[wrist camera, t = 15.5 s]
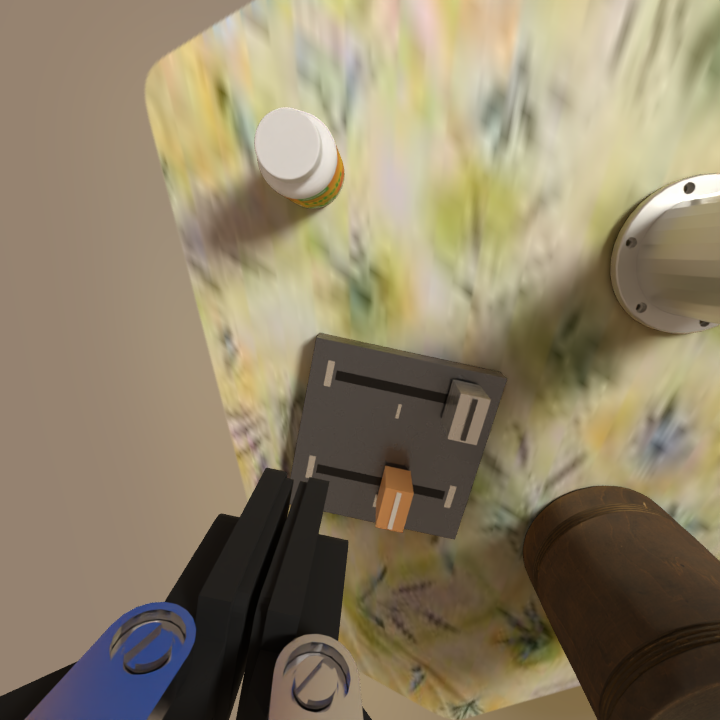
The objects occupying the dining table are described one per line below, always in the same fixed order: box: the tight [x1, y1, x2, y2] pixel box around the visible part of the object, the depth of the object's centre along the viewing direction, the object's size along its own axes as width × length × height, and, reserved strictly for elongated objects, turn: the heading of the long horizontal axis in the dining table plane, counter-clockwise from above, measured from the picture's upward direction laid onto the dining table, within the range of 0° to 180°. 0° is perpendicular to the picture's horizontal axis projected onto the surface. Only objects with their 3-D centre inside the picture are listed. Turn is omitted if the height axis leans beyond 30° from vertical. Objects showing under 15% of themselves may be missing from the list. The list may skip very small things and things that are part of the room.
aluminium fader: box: [441, 380, 491, 445], centre depth 33 cm, size 2×4×4 cm, turn 168°
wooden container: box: [523, 486, 720, 720], centre depth 31 cm, size 15×15×22 cm
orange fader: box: [376, 466, 414, 533], centre depth 36 cm, size 2×4×4 cm, turn 168°
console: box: [290, 333, 507, 539], centre depth 38 cm, size 17×17×2 cm
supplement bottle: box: [254, 107, 344, 209], centre depth 29 cm, size 5×5×10 cm
